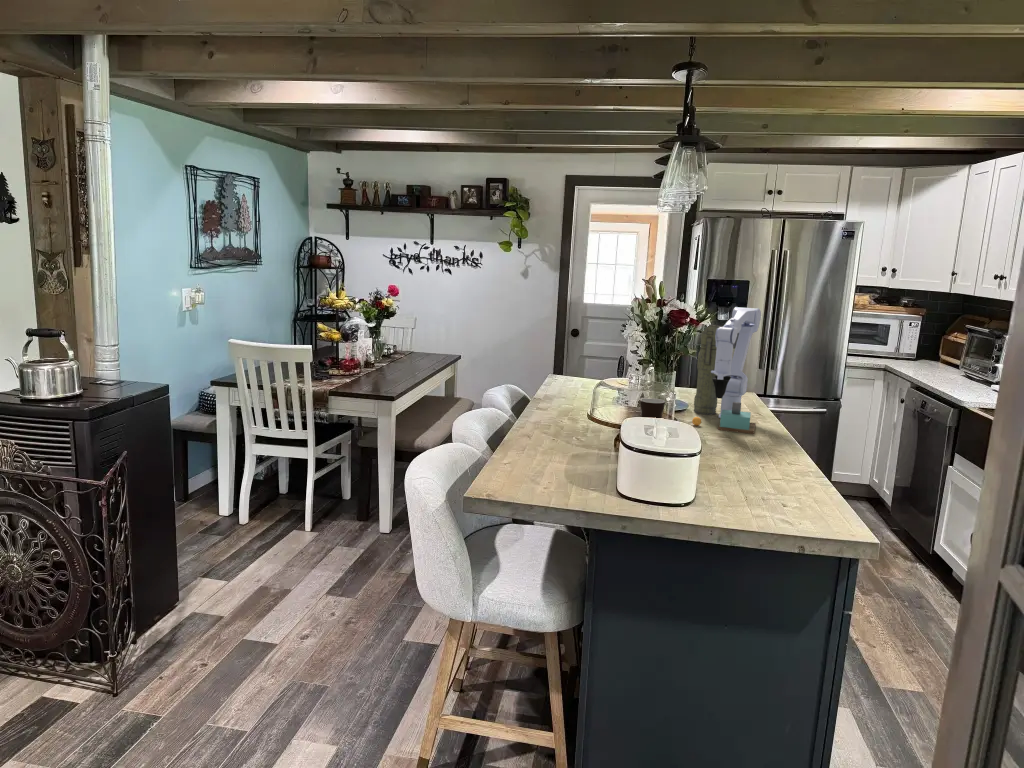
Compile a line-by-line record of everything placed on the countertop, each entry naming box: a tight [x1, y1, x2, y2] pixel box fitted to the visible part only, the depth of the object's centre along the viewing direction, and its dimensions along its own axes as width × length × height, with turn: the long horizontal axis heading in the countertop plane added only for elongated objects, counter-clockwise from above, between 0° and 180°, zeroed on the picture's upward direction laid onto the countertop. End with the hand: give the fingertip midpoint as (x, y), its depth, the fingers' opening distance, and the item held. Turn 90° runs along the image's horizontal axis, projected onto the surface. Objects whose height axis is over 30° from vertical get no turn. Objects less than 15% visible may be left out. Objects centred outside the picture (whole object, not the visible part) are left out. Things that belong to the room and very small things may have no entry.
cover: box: [719, 402, 752, 430], centre depth 247 cm, size 10×10×8 cm
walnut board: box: [718, 422, 757, 435], centre depth 249 cm, size 14×12×1 cm
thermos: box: [693, 323, 721, 415], centre depth 271 cm, size 9×12×35 cm
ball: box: [691, 416, 702, 427], centre depth 250 cm, size 3×3×3 cm
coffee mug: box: [639, 397, 666, 418], centre depth 245 cm, size 12×9×10 cm
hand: (720, 396), depth 252 cm, fingers open, 7 cm apart
